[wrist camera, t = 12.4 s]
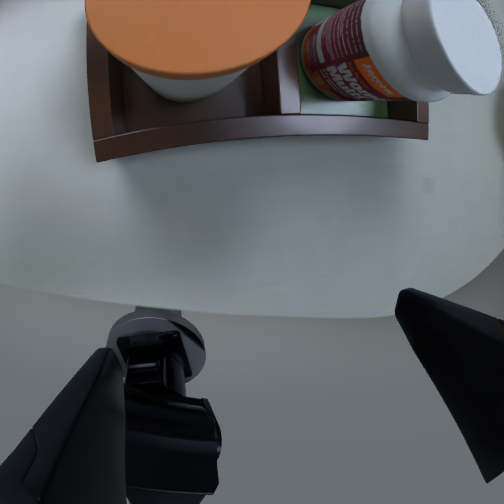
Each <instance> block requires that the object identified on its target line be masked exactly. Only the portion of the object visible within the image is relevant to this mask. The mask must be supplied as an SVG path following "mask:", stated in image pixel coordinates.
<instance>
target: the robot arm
mask: <svg viewBox="0 0 504 504" xmlns="http://www.w3.org/2000/svg"><path fill="white" fill-rule="evenodd" d="M395 316H396V318H397V320H398V322H399V324H400V326H401V327H402V329H403V331H404V333H405V335H406V337H407V339H408V341H409V343H410V345H411V347H412V349H413V351H414V352H415V354H416V356H417V357H418V359H419V360H420V362H421V363H422V365H423V367H424V368H425V370H426V372H427V373H428V375H429V377H430V378H431V380H432V382H433V383H434V385H435V387H436V388H437V390H438V392H439V393H440V395H441V397H442V398H443V400H444V402H445V404H446V405H447V407H448V409H449V411H450V412H451V414H452V416H453V418H454V420H455V422H456V423H457V425H458V427H459V429H460V431H461V433H462V435H463V437H464V439H465V440H466V443H467V445H468V447H469V449H470V451H471V453H472V455H473V457H474V459H475V461H476V463H477V465H478V467H479V469H480V472H481V474H482V476H483V478H484V480H485V482H486V483H489V482H490V481H491V480H493V479H494V478H496V477H497V476H498V475H500V474H501V473H502V472H504V321H503V320H501V319H497V318H495V317H492V316H489V315H487V314H484V313H481V312H479V311H476V310H473V309H470V308H467V307H465V306H462V305H459V304H456V303H453V302H450V301H448V300H445V299H442V298H439V297H437V296H434V295H431V294H428V293H425V292H422V291H419V290H416V289H414V288H407V289H403V290H401V291H400V292H399V295H398V299H397V303H396V307H395ZM174 335H177V336H174ZM121 342H123V343H121ZM116 344H117V346H118V349H119V351H120V353H121V355H122V357H123V359H124V361H125V363H126V371H125V380H124V382H123V369H122V366H121V364H120V362H119V360H118V358H117V356H116V354H115V352H114V350H113V349H112V348H110V347H105V348H99V349H97V350H96V351H95V352H94V353H93V355H92V356H91V357H90V358H89V359H88V361H86V363H85V364H84V365H83V366H82V367H81V368H80V370H79V371H78V372H77V373H76V374H75V375H74V377H73V378H72V379H71V380H70V381H69V383H68V384H67V385H66V386H65V387H64V389H63V390H62V391H61V392H60V394H59V395H58V396H57V397H56V398H55V399H54V401H53V402H52V403H51V404H50V406H49V407H48V408H47V409H46V410H45V412H44V413H43V414H42V416H41V417H40V418H39V419H38V421H37V422H36V423H35V424H34V426H33V429H30V431H29V432H28V433H27V435H26V436H25V437H24V438H23V440H22V441H21V442H20V443H19V445H18V446H17V447H16V449H15V450H14V451H13V452H12V453H11V454H10V455H9V456H8V458H7V459H6V460H5V461H4V462H3V463H2V464H1V465H0V504H126V503H127V502H126V497H127V499H128V501H129V504H200V502H201V501H202V499H203V498H204V497H205V495H213V494H214V492H215V490H216V488H217V486H218V484H219V479H218V470H217V459H218V458H219V455H220V451H221V444H222V443H221V442H222V438H221V431H220V427H219V425H218V422H217V420H216V418H215V415H214V413H213V411H212V408H211V406H210V403H209V401H208V399H204V398H201V399H197V398H191V397H186V390H185V378H187V377H191V376H192V369H191V366H190V363H189V360H188V357H187V353H186V350H185V347H184V343H183V340H182V336H181V333H180V332H179V331H178V330H171V331H164V332H157V333H149V334H141V335H133V336H124V337H118V338H117V340H116Z"/></svg>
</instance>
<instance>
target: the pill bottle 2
mask: <svg viewBox="0 0 504 504" xmlns="http://www.w3.org/2000/svg"><path fill="white" fill-rule="evenodd" d="M301 60H302V65H303V68H304V71H305V73H306V75H307V76H308V78H309V79H310V81H311V82H312V83H313V84H314V85H315V86H316V87H317V88H318V89H319V90H320V91H321V92H322V93H324V94H325V95H327V96H329V97H331V98H333V99H336V100H340V101H414V102H435V101H440V100H442V99H444V98H446V97H447V96H449V95H450V94H451V93H454V94H471V95H488V94H490V93H492V92H493V91H494V90H495V89H496V87H497V86H498V83H499V81H500V77H501V68H502V64H501V52H500V47H499V43H498V39H497V36H496V33H495V31H494V28H493V26H492V24H491V22H490V20H489V18H488V16H487V15H486V13H485V11H484V10H483V8H482V7H481V6H480V4H479V3H478V2H477V1H476V0H359V1H357V2H355V3H353V4H351V5H349V6H347V7H345V8H343V9H341V10H340V11H338V12H336V13H334V14H332V15H331V16H329V17H327V18H326V19H324V20H322V21H321V22H319V23H318V24H316V25H315V26H313V27H312V28H311V29H310V30H309V31H308V32H307V34H306V36H305V37H304V39H303V42H302V46H301Z"/></svg>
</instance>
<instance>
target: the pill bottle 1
mask: <svg viewBox="0 0 504 504" xmlns="http://www.w3.org/2000/svg"><path fill="white" fill-rule="evenodd" d="M310 3H311V0H85V13H86V18H87V21H88V24H89V26H90V29H91V31H92V33H93V34H94V36H95V37H96V39H97V40H98V41H99V42H100V43H101V44H102V46H103V47H104V48H105V49H106V50H107V51H109V52H110V53H111V54H112V55H113V56H114V57H116V58H117V59H118V60H120V61H121V62H122V63H124V64H126V65H127V66H129V67H131V68H132V69H133V70H134V71H135V72H136V73H137V74H138V75H139V76H140V77H141V78H142V79H143V80H144V81H145V82H146V83H147V84H148V85H149V86H150V87H151V88H152V89H153V90H154V91H155V92H156V93H157V94H159V95H160V96H162V97H164V98H166V99H169V100H172V101H176V102H184V103H189V102H198V101H202V100H205V99H208V98H210V97H212V96H214V95H216V94H218V93H219V92H220V91H222V90H223V89H224V88H225V87H226V86H228V85H229V84H230V83H231V82H232V81H233V80H234V79H236V78H237V77H238V76H239V75H240V74H241V73H243V72H244V71H245V70H246V69H247V68H249V67H250V66H252V65H254V64H256V63H258V62H260V61H261V60H263V59H264V58H266V57H267V56H269V55H270V54H272V53H273V52H275V51H276V50H277V49H279V48H280V47H281V46H282V45H284V44H285V43H286V42H287V41H288V40H289V39H290V38H291V37H292V36H293V35H294V34H295V33H296V32H297V30H298V29H299V27H300V26H301V25H302V23H303V21H304V19H305V17H306V15H307V13H308V10H309V6H310Z"/></svg>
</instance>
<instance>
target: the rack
mask: <svg viewBox="0 0 504 504" xmlns="http://www.w3.org/2000/svg"><path fill="white" fill-rule="evenodd" d="M357 1H359V0H311V3H310V6H309V10H308V13H307V15H306V17H305V19H304V21H303V23H302V25H301V26H300V27H299V29H298V30H297V32H296V33H295V34H294V35H293V36H292V37H291V38H290V39H289V40H288V41H287V42H286V43H285V44H284V45H282V46H281V47H280V48H279V49H277V50H276V51H275V52H273V53H272V54H270V55H269V56H267V57H266V58H264V59H263V60H261V61H260V62H258V63H256V64H254V65H252V66H250V67H249V68H247V69H246V70H245V71H244V72H243V73H241V74H240V75H239V76H238V77H237V78H236V79H234V80H233V81H232V82H231V83H230V84H229V85H228V86H226V87H225V88H224V89H223V90H222V91H220V92H219V93H218V94H216V95H214V96H212V97H210V98H208V99H205V100H202V101H198V102H189V103H184V102H176V101H172V100H169V99H166V98H164V97H162V96H160V95H159V94H157V93H156V92H155V91H154V90H153V89H152V88H151V87H150V86H149V85H148V84H147V83H146V82H145V81H144V80H143V79H142V78H141V77H140V76H139V75H138V74H137V73H136V72H135V71H134V70H133V69H132V68H131V67H129V66H127V65H126V64H124V63H122V62H121V61H120V60H118V59H117V58H116V57H114V56H113V55H112V54H111V53H110V52H109V51H107V50H106V49H105V48H104V47H103V46H102V44H101V43H100V42H99V41H98V40H97V39H96V37H95V36H94V34H93V33H92V31H91V29H90V26H89V24H88V21H87V81H88V96H89V108H90V118H91V127H92V135H93V140H94V149H95V155H96V161H97V162H102V161H107V160H111V159H116V158H120V157H125V156H130V155H135V154H140V153H145V152H151V151H157V150H162V149H168V148H175V147H181V146H188V145H196V144H203V143H211V142H220V141H230V140H240V139H252V138H266V137H284V136H314V135H351V136H380V137H397V138H410V139H422V140H428V124H427V123H429V113H428V102H414V101H340V100H336V99H333V98H331V97H329V96H327V95H325V94H324V93H322V92H321V91H320V90H319V89H318V88H317V87H316V86H315V85H314V84H313V83H312V82H311V81H310V79H309V78H308V76H307V75H306V73H305V71H304V68H303V65H302V60H301V46H302V42H303V39H304V37H305V36H306V34H307V32H308V31H309V30H310V29H311V28H312V27H313V26H315V25H316V24H318V23H319V22H321V21H322V20H324V19H326V18H327V17H329V16H331V15H332V14H334V13H336V12H338V11H340V10H341V9H343V8H345V7H347V6H349V5H351V4H353V3H355V2H357Z"/></svg>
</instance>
